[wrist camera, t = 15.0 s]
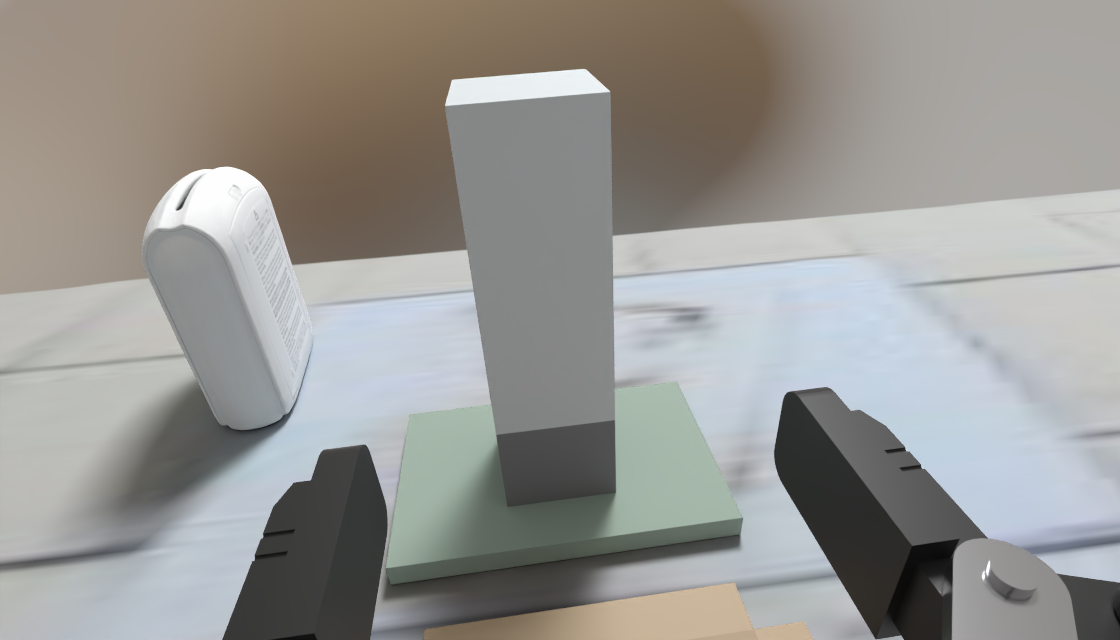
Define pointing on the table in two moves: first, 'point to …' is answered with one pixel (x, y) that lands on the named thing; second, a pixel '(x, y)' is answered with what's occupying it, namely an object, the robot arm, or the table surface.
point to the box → (542, 273)
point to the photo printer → (230, 294)
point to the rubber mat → (563, 525)
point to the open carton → (633, 621)
